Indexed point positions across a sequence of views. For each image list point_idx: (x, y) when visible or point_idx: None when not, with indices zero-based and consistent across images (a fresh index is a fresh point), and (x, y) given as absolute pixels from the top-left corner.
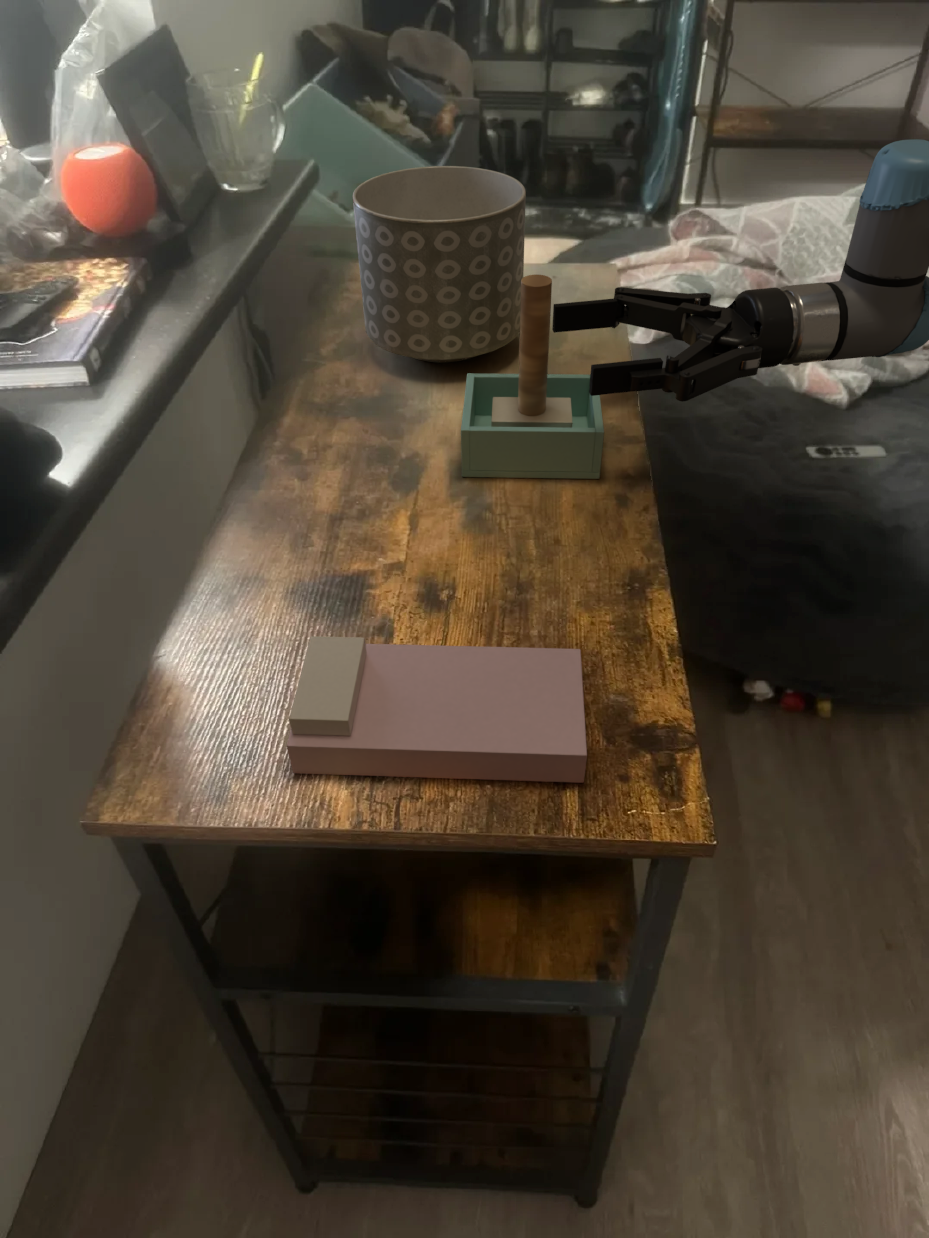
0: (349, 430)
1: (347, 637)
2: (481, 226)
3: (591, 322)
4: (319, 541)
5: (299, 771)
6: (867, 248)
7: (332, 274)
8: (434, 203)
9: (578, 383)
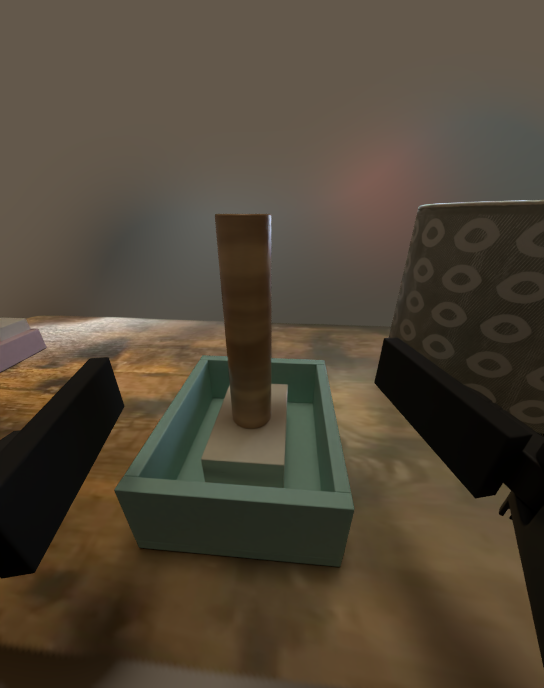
0: (292, 347)
1: (5, 326)
2: (481, 218)
3: (426, 424)
4: (163, 343)
5: None
6: None
7: None
8: None
9: (330, 478)
